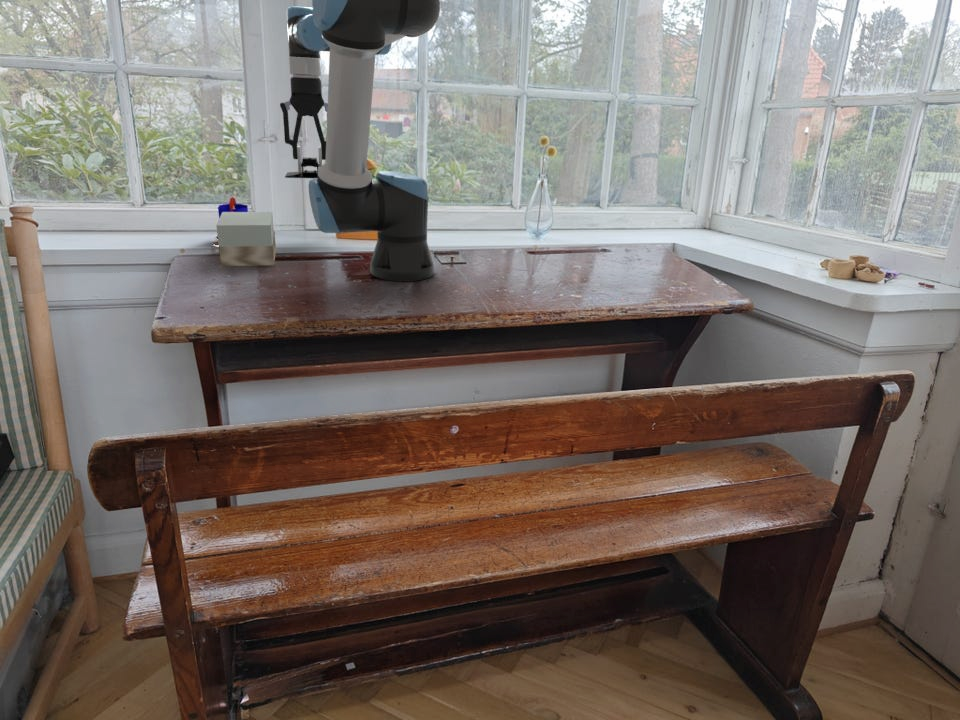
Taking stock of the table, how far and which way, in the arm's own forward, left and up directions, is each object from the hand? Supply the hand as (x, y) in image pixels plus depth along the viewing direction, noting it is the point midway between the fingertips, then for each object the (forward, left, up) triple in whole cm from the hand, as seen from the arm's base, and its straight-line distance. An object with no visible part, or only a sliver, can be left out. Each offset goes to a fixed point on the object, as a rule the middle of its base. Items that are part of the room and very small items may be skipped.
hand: (310, 172), depth 175 cm
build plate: (0, +1, -1) cm, 2 cm away
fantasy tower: (+20, 0, -19) cm, 28 cm away
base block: (+16, +16, -19) cm, 29 cm away
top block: (+16, +16, -14) cm, 26 cm away
